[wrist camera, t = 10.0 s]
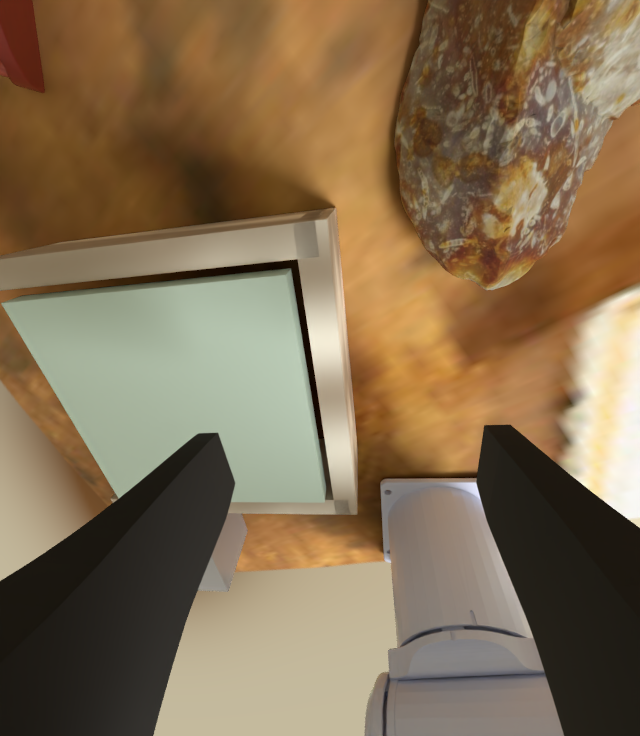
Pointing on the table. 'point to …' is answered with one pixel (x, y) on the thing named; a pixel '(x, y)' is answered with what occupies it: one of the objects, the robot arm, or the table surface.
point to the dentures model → (20, 45)
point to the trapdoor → (184, 376)
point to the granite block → (225, 555)
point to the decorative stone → (509, 124)
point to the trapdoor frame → (232, 248)
